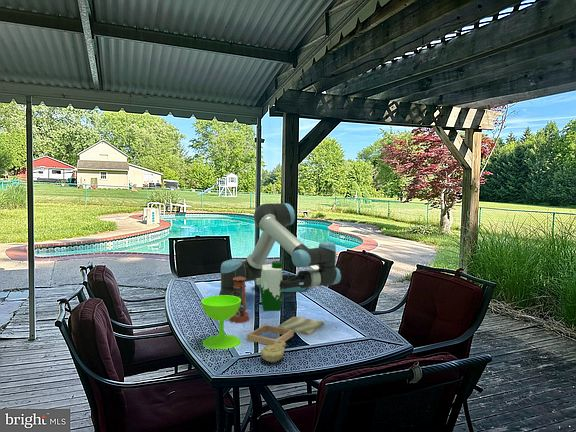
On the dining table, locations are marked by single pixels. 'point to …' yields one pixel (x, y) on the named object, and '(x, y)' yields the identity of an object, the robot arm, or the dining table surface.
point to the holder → (268, 341)
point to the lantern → (241, 314)
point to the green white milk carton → (271, 286)
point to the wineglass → (221, 319)
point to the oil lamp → (273, 351)
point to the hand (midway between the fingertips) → (260, 283)
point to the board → (302, 325)
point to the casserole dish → (288, 289)
